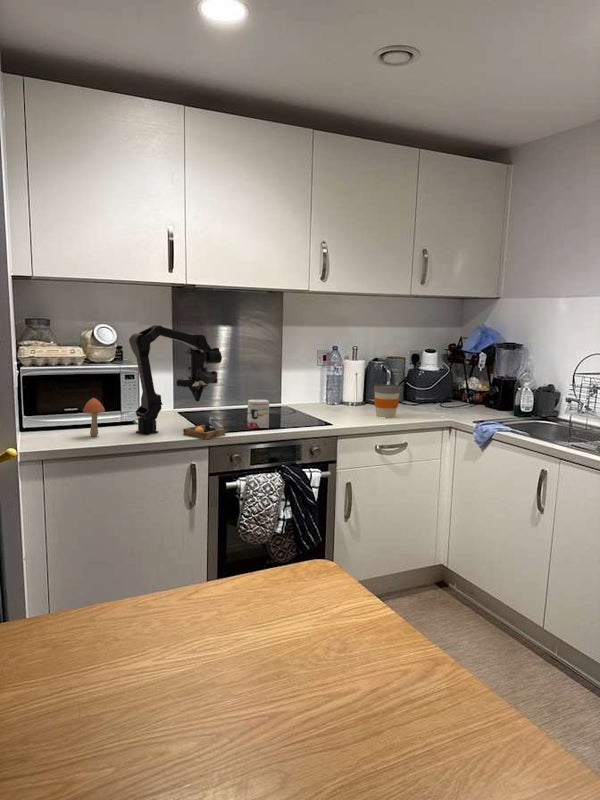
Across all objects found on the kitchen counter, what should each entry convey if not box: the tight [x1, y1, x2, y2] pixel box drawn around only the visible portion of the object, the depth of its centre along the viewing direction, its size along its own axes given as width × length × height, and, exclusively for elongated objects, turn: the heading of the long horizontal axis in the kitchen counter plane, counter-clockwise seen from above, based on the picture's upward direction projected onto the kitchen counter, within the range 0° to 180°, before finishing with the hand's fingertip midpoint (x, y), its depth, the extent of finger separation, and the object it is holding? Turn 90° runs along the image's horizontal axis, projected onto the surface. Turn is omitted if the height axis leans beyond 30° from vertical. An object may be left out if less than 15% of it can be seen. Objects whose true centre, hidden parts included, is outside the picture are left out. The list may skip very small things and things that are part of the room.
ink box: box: [246, 399, 270, 430], centre depth 243 cm, size 9×5×12 cm, turn 105°
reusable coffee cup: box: [373, 384, 401, 419], centre depth 276 cm, size 13×13×15 cm
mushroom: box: [82, 397, 106, 437], centre depth 219 cm, size 8×8×15 cm
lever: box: [208, 416, 224, 430], centre depth 239 cm, size 3×21×3 cm, turn 20°
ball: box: [195, 427, 205, 432], centre depth 226 cm, size 4×4×4 cm
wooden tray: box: [183, 424, 226, 440], centre depth 227 cm, size 11×12×2 cm
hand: (197, 401), depth 241 cm, fingers closed
